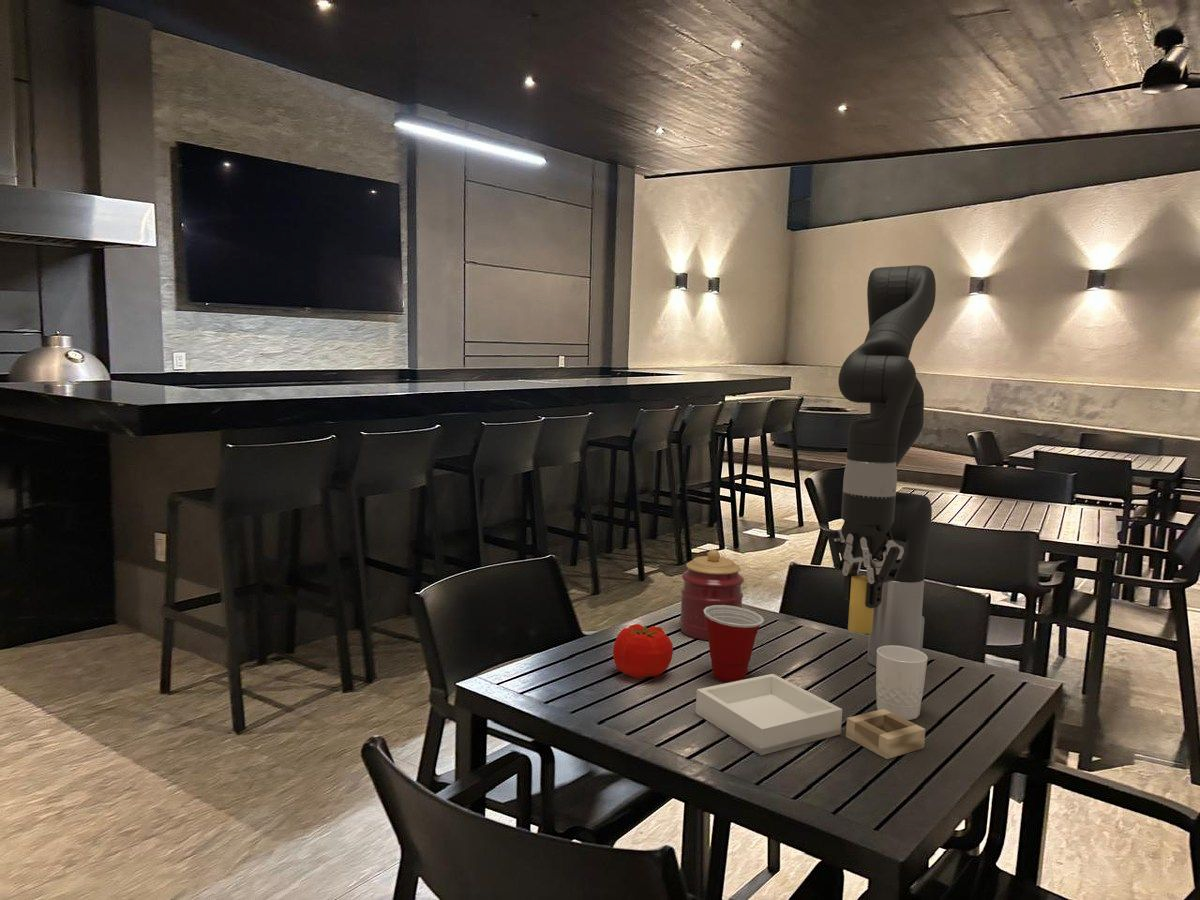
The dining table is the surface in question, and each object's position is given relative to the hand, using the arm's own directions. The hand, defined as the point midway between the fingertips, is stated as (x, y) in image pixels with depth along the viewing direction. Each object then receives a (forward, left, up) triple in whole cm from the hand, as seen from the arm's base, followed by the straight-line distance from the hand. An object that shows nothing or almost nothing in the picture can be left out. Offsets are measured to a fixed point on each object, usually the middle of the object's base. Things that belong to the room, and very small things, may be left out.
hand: (861, 602), depth 125 cm
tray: (+9, -10, -21) cm, 25 cm away
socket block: (-3, +3, -21) cm, 22 cm away
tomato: (+16, -36, -22) cm, 44 cm away
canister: (-10, -50, -21) cm, 55 cm away
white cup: (-14, -4, -21) cm, 26 cm away
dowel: (0, 0, -4) cm, 4 cm away
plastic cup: (+2, -28, -21) cm, 35 cm away
